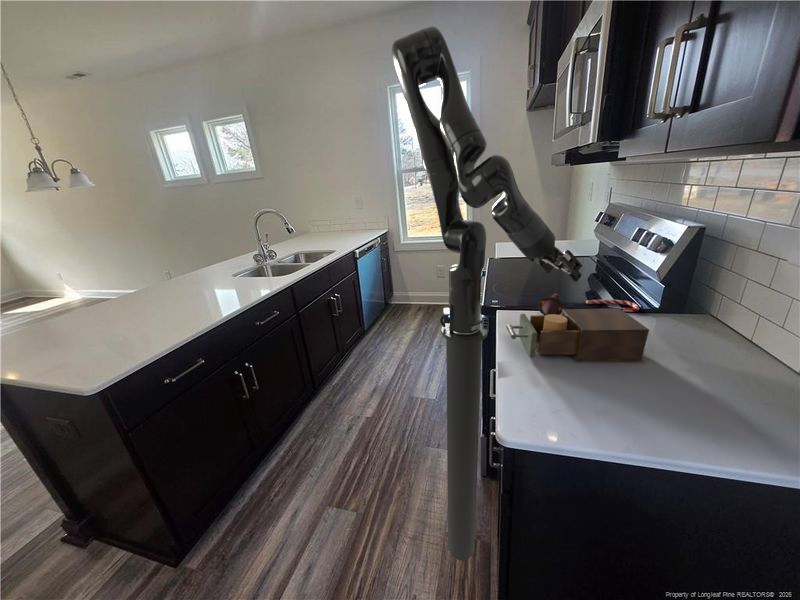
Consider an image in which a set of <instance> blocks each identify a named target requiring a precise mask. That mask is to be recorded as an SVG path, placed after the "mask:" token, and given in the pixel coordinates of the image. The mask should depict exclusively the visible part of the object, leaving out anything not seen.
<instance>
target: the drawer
mask: <svg viewBox="0 0 800 600" xmlns="http://www.w3.org/2000/svg"><path fill="white" fill-rule="evenodd" d="M560 315H561V316H564V317H566V315H562V314H560ZM545 316H546V315H543V314H535V315H534V314H531V315H530V316H529V318H528V317H527V315H526V314H525V313H520V314H519V325H512V324H509V323H508V324H506V326H505V329H506V330H507V332H508V334H509V337H510V339H512V340H516V339H517V338H519V339H520V342H521V344H522V345H523V347H524V349H525V351H526V352H527V354H528V356H529V357H530V358H535V356H536V355H535V354H536V351H537V353H538V354H539V355H572V354H577V350H578V344H579V338H580V330H579V329H578V328H577V327H576V326H575V325H574V324H573V323H572V322H571V321H570V320H569V319H568V318H567V317H566V318H567V327H566V330H564V331H543V327H544V318H545ZM514 329H518V334H516V332H515V330H514Z"/></svg>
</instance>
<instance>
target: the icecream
mask: <svg viewBox="0 0 800 600" xmlns="http://www.w3.org/2000/svg"><path fill="white" fill-rule="evenodd" d="M538 302H539V303H538V304H537V305H538V310H539V313H540V314H541V315H550V314H556V315H562V309H564V307H563V306H564V305H563V303H562V301H561V300H560V299H559V294H558V293H553V295H551V296H546V297H544V298H542V299H540V300H539V301H538Z"/></svg>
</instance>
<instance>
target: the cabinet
mask: <svg viewBox="0 0 800 600" xmlns="http://www.w3.org/2000/svg"><path fill="white" fill-rule="evenodd" d="M561 315H566V317H567V318H568V319H569V320H570V321H571V322H572V323H573V324H574V325H575V326H576V327H577V328H578V329H579V330H580V338H579V344H578V350H577V354H571V356H572V357H573V358H574V359H575V361H576V362H642V360H643V356H644V351H645V347H646V344H647V340H648V336H649V331H650V329H649V328H648V327H646V326H645V325H643V324H642V323H640V322H639V320H637V319H635V318H634V317H632V316H631V315H629V314H628V313H627V312H626V311H623V309H621V308H620V307H618V308H563V309H562V314H561Z"/></svg>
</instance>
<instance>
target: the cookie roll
mask: <svg viewBox="0 0 800 600" xmlns="http://www.w3.org/2000/svg"><path fill="white" fill-rule="evenodd" d="M561 315H562V314H560V315H556V314H550V315H546V316H545V318H544V327H543V331H564V330H566V327H567V318H566V317H564V316H561Z"/></svg>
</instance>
